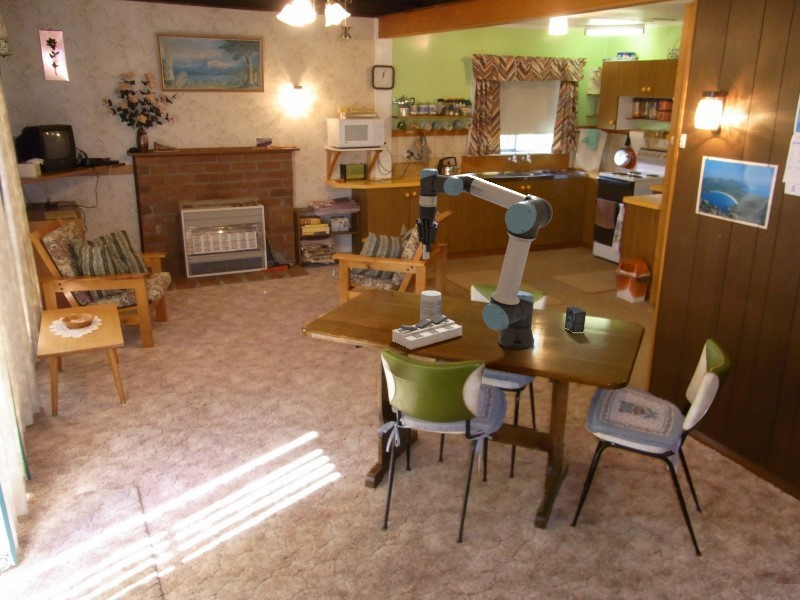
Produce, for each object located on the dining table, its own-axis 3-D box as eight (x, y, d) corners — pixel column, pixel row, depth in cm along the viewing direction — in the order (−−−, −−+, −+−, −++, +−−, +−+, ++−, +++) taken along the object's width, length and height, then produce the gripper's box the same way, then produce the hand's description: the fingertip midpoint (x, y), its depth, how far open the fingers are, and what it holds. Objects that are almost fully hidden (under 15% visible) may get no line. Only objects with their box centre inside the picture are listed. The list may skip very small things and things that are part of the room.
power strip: (471, 332, 310) (472, 321, 308) (410, 349, 287) (410, 338, 286) (452, 325, 318) (453, 314, 317) (392, 341, 296) (392, 330, 295)
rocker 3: (447, 319, 308) (447, 316, 307) (436, 325, 304) (436, 322, 303) (442, 317, 310) (442, 314, 309) (431, 323, 306) (431, 320, 306)
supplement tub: (442, 326, 316) (443, 296, 312) (421, 327, 315) (422, 296, 310) (438, 319, 325) (439, 289, 321) (418, 320, 324) (419, 290, 319)
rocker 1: (416, 330, 297) (417, 327, 297) (404, 330, 292) (405, 326, 292) (411, 328, 299) (412, 325, 299) (399, 328, 294) (400, 324, 294)
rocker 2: (432, 322, 302) (432, 319, 301) (421, 329, 298) (420, 326, 298) (428, 320, 304) (427, 318, 304) (416, 327, 301) (415, 324, 300)
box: (564, 328, 318) (566, 306, 315) (574, 327, 320) (577, 306, 316) (572, 334, 311) (575, 312, 308) (584, 333, 312) (586, 311, 309)
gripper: (444, 206, 294) (442, 260, 301) (424, 202, 304) (422, 254, 311) (431, 208, 290) (429, 262, 297) (411, 203, 299) (409, 256, 306)
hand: (425, 258), depth 304 cm, fingers closed
